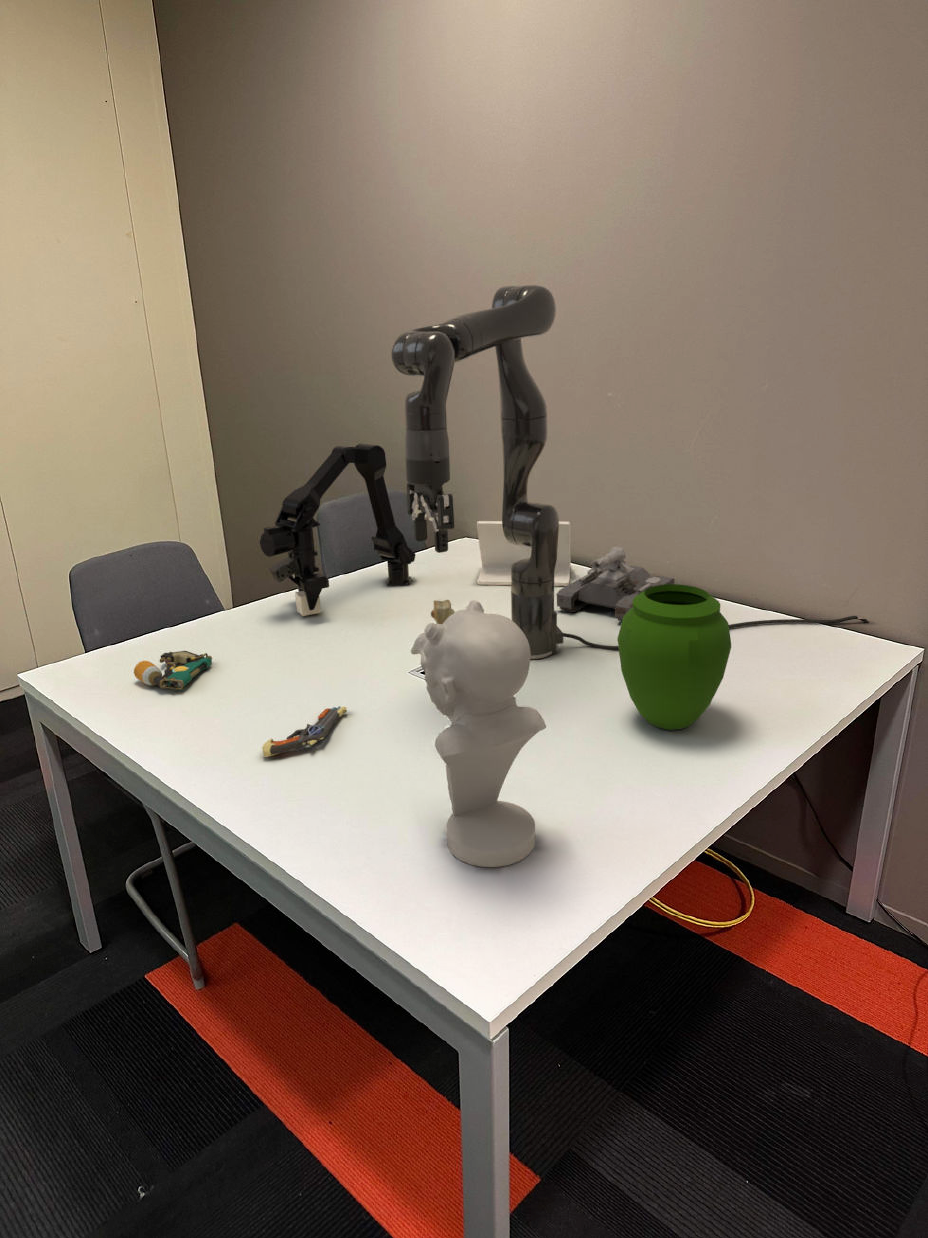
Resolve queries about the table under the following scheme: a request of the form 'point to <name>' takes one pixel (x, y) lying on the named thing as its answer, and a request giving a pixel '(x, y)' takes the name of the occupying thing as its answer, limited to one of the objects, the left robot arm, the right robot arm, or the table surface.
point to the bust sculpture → (481, 729)
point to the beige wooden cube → (306, 604)
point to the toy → (609, 585)
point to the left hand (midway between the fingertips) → (308, 606)
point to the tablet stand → (516, 554)
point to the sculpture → (441, 611)
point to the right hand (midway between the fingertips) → (431, 546)
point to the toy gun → (305, 733)
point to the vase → (673, 653)
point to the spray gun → (172, 669)
